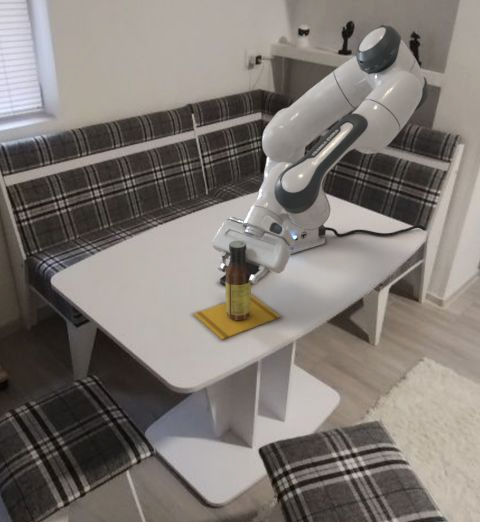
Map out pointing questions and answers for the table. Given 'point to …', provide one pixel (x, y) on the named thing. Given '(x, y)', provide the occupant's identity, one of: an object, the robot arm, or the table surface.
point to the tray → (228, 327)
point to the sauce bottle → (238, 283)
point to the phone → (252, 269)
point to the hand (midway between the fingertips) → (236, 276)
